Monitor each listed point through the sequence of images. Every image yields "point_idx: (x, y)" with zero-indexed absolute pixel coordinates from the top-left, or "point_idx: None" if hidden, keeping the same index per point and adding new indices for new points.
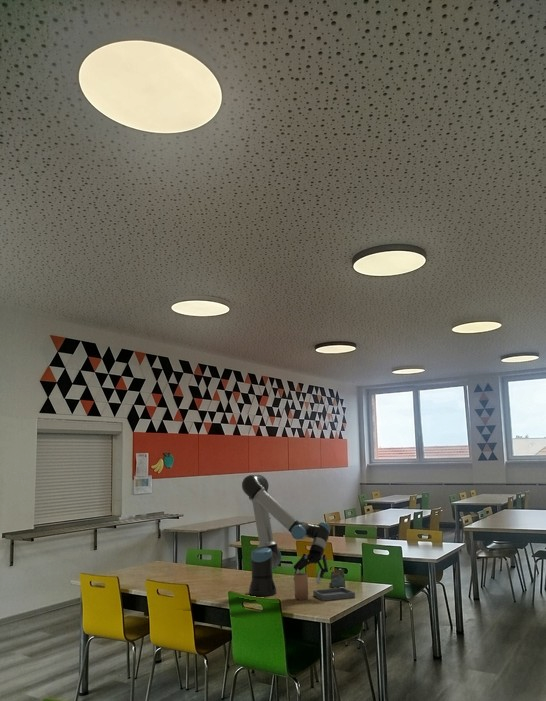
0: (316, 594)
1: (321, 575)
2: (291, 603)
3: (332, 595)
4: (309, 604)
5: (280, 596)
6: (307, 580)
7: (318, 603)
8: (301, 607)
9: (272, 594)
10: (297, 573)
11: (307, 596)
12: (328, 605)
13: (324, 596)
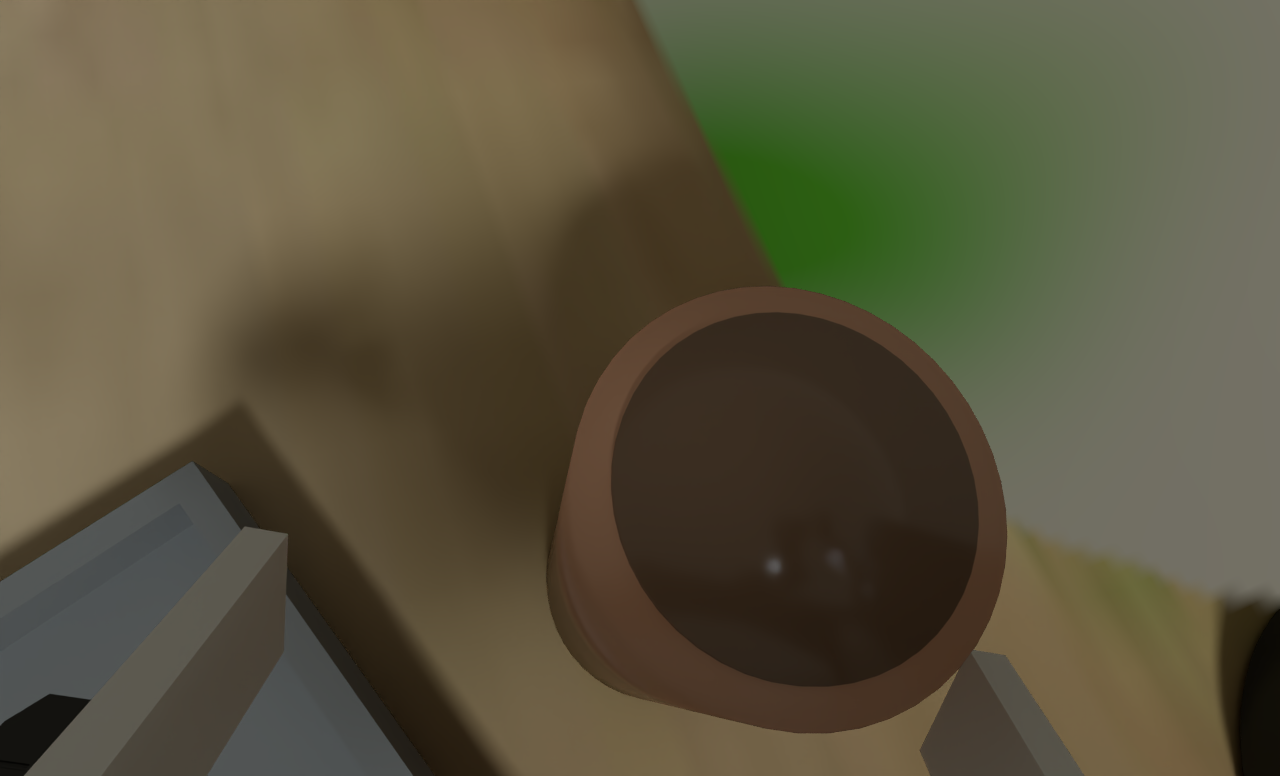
0: (419, 769)
1: (22, 727)
2: (686, 247)
3: (2, 589)
4: (415, 227)
5: (1066, 662)
6: (562, 549)
7: (289, 301)
8: (477, 75)
9: (1245, 724)
10: (940, 542)
11: (550, 550)
12: (105, 208)
13: (179, 479)
